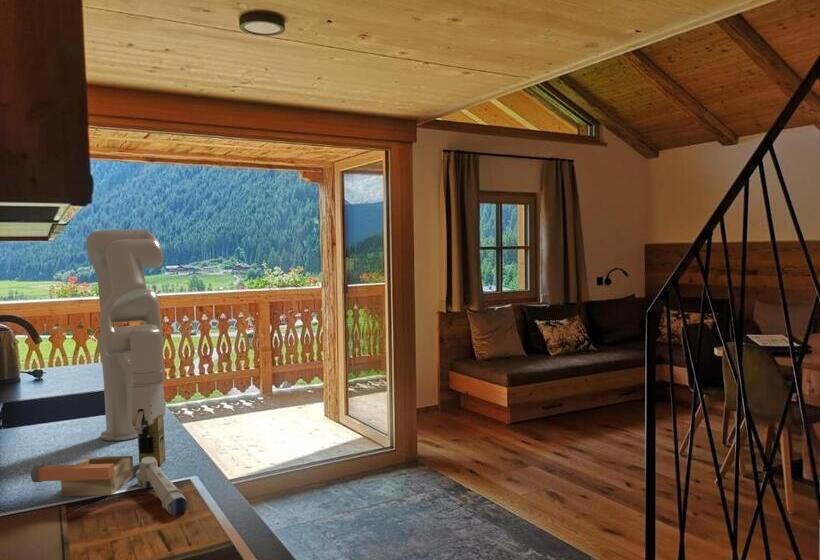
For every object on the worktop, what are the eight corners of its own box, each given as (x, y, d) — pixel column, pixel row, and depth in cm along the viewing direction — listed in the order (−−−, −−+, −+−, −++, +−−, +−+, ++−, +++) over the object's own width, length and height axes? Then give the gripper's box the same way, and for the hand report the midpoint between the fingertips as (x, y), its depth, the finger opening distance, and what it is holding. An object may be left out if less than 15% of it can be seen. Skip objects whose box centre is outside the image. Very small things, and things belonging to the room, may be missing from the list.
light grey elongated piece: (165, 500, 124) (132, 453, 144) (165, 531, 125) (133, 480, 145) (191, 494, 127) (156, 448, 147) (191, 524, 128) (156, 474, 148)
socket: (87, 477, 148) (86, 457, 148) (133, 476, 148) (132, 455, 148) (61, 496, 137) (60, 474, 137) (111, 494, 137) (110, 472, 137)
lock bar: (41, 478, 136) (40, 462, 135) (115, 476, 135) (114, 460, 135) (31, 484, 132) (30, 468, 132) (107, 482, 132) (106, 466, 132)
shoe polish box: (139, 468, 154) (136, 420, 153) (145, 461, 159) (142, 415, 158) (160, 466, 155) (157, 419, 154) (165, 459, 160) (163, 413, 159)
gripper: (147, 371, 164) (151, 438, 165) (116, 385, 147) (121, 461, 148) (175, 370, 164) (179, 438, 165) (148, 384, 147) (152, 460, 148)
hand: (151, 448), depth 157 cm, fingers closed on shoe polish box, 5 cm apart
